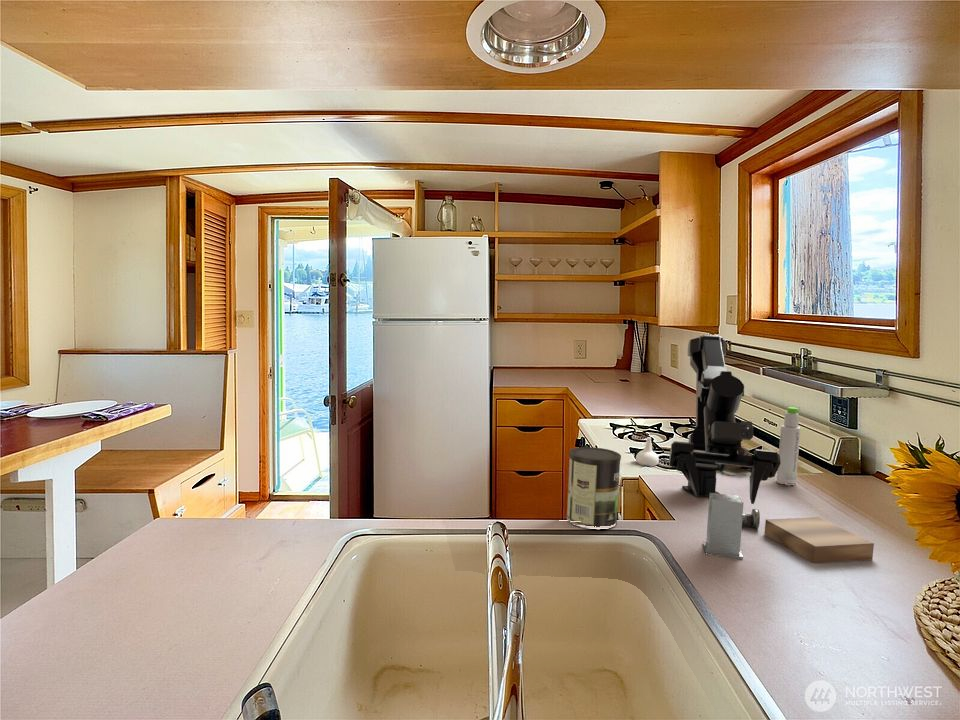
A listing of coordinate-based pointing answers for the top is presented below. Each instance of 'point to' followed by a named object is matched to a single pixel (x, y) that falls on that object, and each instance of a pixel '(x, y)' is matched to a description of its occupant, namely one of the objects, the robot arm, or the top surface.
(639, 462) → the garlic bulb
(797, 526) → the stand
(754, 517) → the bolt
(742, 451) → the pottery mug
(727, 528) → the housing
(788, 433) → the bottle
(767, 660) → the top surface
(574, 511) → the coffee can
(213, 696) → the top surface
